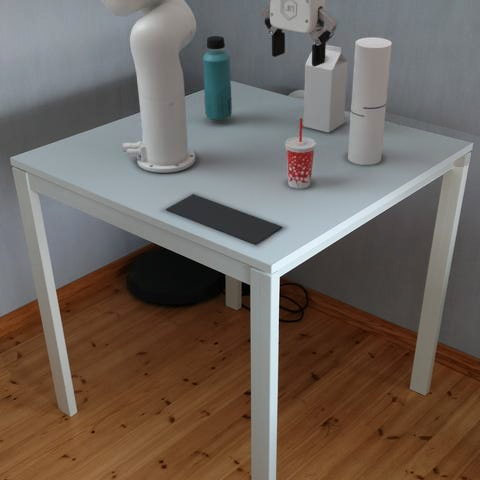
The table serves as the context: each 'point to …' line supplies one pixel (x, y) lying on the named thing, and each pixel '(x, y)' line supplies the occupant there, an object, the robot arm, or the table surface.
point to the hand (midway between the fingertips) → (297, 59)
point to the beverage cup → (299, 160)
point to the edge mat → (224, 219)
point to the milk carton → (325, 91)
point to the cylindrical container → (369, 100)
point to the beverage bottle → (217, 80)
